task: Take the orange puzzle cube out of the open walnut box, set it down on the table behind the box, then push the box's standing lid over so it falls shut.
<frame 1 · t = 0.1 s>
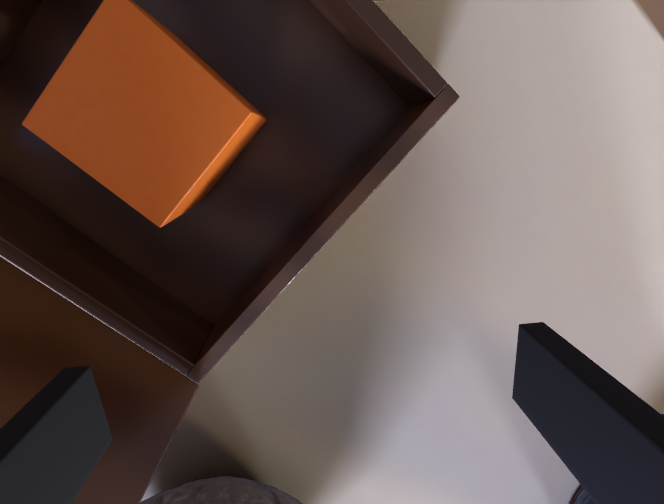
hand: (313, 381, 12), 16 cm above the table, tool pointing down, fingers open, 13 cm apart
cube: (187, 123, 23), point 1 cm above the table, touching box
box: (191, 123, 24), on the table
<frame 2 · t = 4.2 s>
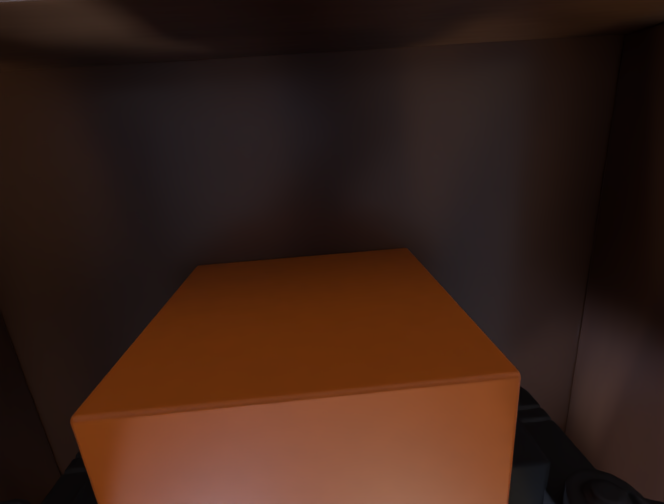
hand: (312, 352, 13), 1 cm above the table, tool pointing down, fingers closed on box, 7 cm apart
cube: (312, 348, 13), point 1 cm above the table, touching box
box: (311, 335, 14), on the table
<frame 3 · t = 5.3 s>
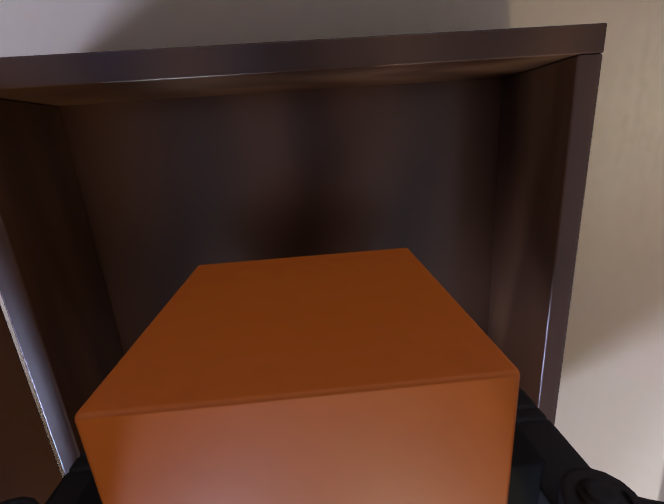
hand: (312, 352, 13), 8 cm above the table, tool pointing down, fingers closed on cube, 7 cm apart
cube: (312, 347, 13), point 7 cm above the table, touching gripper
box: (306, 280, 20), on the table
when the fingers open (0 cm above the table, at t = 12.0 s): cube stays where it is, on the table.
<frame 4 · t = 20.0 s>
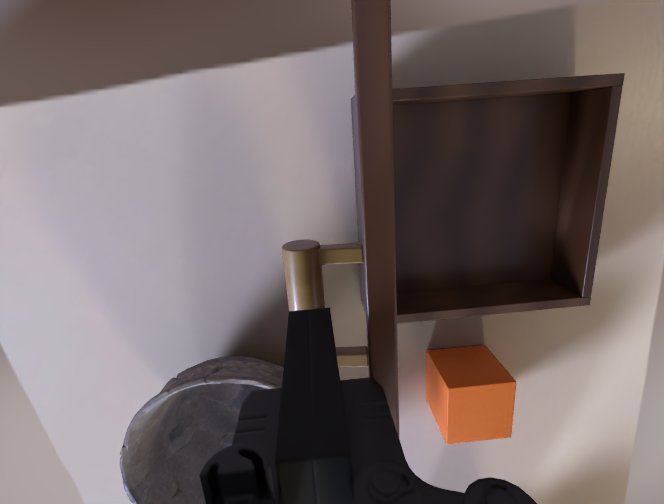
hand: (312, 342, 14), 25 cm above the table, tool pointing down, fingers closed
cube: (454, 372, 45), on the table
lid: (341, 266, 22), point 17 cm above the table, hinge at 97.4°, touching gripper
bowl: (247, 399, 44), on the table
box: (460, 199, 39), on the table
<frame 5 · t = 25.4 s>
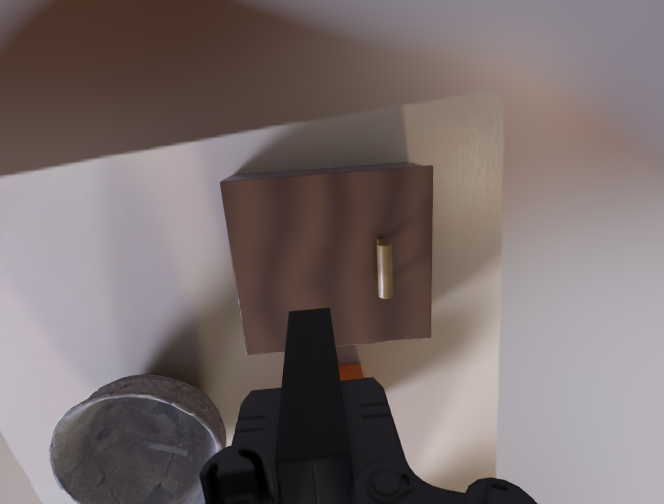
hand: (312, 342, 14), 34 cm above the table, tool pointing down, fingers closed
cube: (337, 385, 55), on the table
lid: (335, 270, 41), point 8 cm above the table, hinge at -0.1°
bowl: (167, 407, 54), on the table
box: (327, 249, 49), on the table
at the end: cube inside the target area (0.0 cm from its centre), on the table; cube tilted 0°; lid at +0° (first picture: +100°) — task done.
